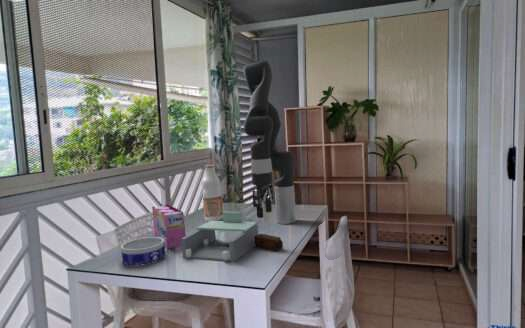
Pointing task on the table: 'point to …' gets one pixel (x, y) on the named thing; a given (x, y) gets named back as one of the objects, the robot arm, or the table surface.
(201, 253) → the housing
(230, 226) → the cover
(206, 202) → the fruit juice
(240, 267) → the table surface
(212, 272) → the table surface
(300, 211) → the table surface
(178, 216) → the gum box
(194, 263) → the table surface
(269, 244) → the brick
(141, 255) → the dog bowl
